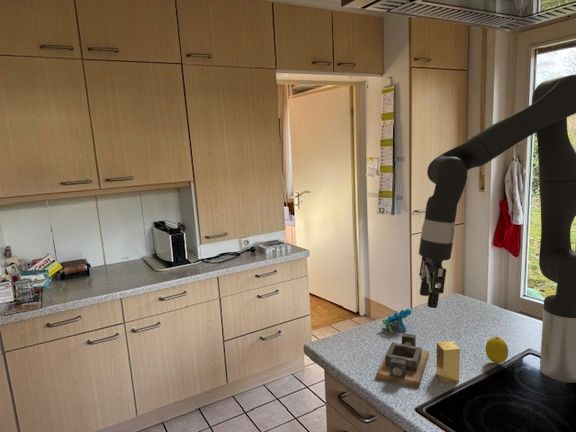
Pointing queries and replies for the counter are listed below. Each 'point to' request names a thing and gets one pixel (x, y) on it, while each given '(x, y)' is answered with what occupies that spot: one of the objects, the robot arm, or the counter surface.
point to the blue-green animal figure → (397, 319)
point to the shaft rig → (404, 362)
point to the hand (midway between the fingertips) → (427, 301)
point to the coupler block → (448, 361)
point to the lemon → (496, 350)
